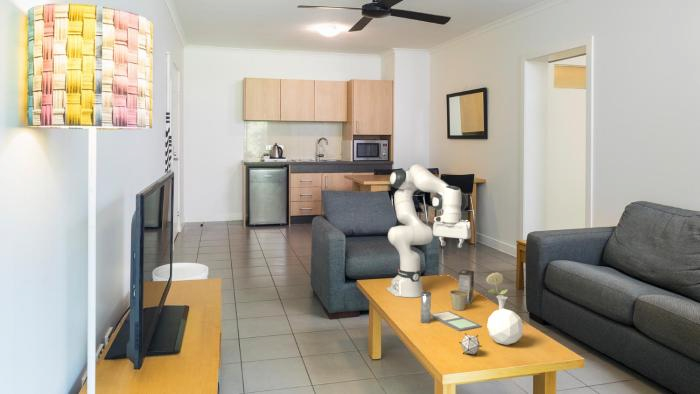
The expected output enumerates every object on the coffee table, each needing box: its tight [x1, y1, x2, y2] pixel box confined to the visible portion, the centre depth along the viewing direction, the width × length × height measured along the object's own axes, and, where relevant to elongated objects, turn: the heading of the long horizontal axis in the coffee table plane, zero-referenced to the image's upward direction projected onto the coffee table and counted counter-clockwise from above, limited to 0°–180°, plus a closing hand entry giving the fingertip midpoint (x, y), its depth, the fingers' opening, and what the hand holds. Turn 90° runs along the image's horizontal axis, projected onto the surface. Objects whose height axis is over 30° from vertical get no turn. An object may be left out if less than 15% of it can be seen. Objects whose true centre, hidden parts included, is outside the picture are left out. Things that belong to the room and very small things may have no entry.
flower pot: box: [449, 289, 468, 312], centre depth 262 cm, size 9×9×9 cm
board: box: [430, 310, 483, 332], centre depth 243 cm, size 24×13×1 cm, turn 27°
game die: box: [459, 332, 483, 357], centre depth 204 cm, size 9×8×10 cm
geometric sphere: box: [486, 308, 524, 346], centre depth 216 cm, size 14×15×15 cm
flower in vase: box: [485, 272, 508, 310], centre depth 237 cm, size 13×11×25 cm
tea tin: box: [420, 291, 432, 325], centre depth 241 cm, size 5×5×14 cm
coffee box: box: [457, 269, 475, 305], centre depth 275 cm, size 9×6×16 cm
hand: (451, 246), depth 254 cm, fingers open, 8 cm apart
